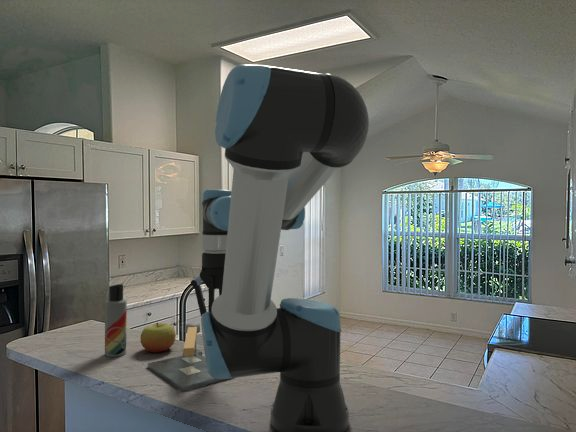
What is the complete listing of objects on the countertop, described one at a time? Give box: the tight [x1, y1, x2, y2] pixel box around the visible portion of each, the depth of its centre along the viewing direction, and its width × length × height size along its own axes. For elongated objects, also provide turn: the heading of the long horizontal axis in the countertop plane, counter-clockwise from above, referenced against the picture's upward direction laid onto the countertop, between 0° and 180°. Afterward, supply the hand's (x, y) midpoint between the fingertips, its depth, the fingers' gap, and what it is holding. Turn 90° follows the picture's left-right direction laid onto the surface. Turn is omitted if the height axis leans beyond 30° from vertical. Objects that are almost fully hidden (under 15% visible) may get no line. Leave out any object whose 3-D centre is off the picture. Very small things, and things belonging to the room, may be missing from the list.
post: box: [182, 343, 203, 356], centre depth 120 cm, size 4×4×6 cm
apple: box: [140, 322, 177, 353], centre depth 124 cm, size 10×10×8 cm
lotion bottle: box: [104, 283, 128, 358], centre depth 120 cm, size 6×6×20 cm
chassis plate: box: [147, 353, 231, 393], centre depth 107 cm, size 20×14×1 cm
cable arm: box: [183, 322, 201, 356], centre depth 111 cm, size 24×4×2 cm, turn 10°
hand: (216, 345), depth 105 cm, fingers closed
